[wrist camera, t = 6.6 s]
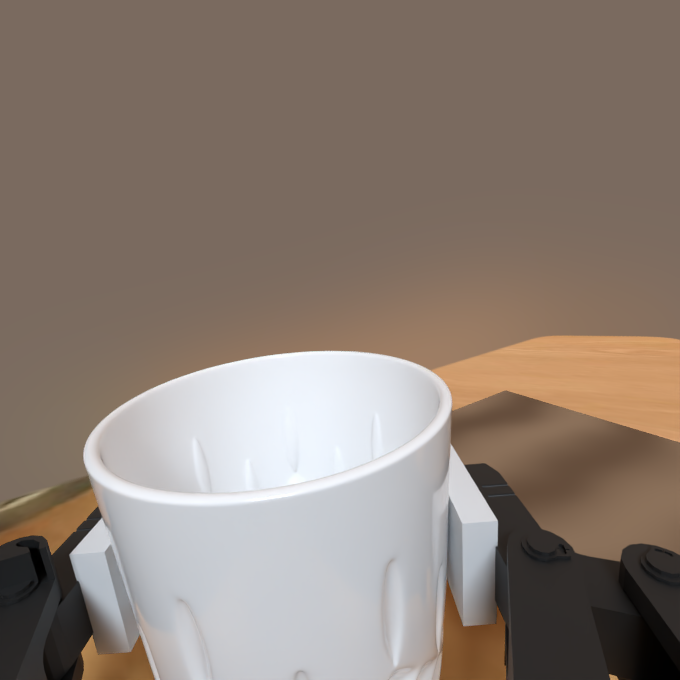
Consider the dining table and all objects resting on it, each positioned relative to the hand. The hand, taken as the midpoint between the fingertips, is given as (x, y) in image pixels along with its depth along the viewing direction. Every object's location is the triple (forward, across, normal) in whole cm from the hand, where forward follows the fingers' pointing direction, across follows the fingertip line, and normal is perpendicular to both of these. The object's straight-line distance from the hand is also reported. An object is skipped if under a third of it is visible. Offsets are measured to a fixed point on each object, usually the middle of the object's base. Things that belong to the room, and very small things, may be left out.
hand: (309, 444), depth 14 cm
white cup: (-5, 0, -6) cm, 8 cm away
